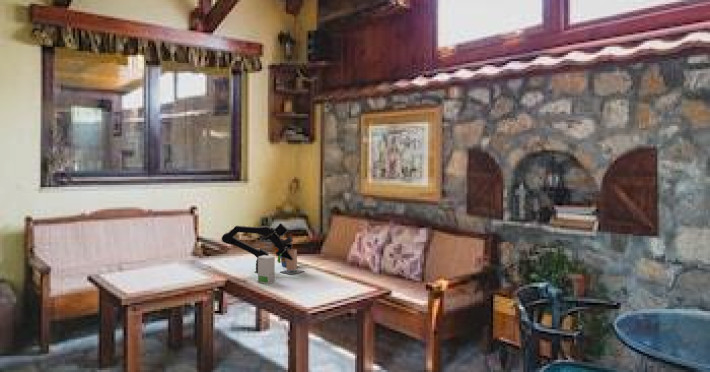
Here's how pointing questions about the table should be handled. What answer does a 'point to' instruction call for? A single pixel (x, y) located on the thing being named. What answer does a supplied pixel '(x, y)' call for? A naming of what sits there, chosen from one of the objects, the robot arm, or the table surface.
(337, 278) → the table surface
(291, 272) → the slate coaster
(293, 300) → the table surface
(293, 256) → the tan rectangular block
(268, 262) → the skincare box
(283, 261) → the snack cup
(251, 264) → the table surface
